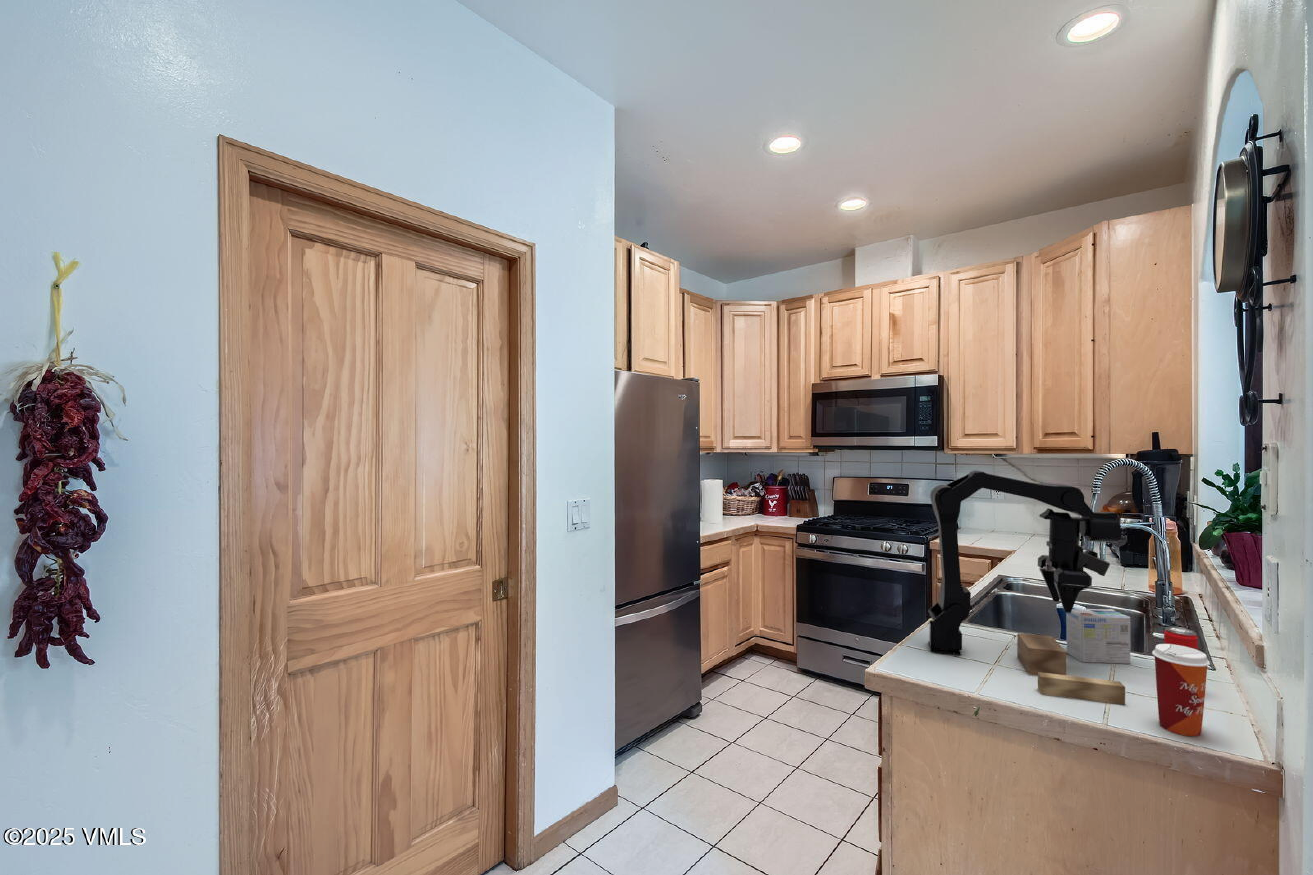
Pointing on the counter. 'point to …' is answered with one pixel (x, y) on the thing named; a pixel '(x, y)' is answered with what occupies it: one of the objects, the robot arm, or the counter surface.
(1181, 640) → the beverage can
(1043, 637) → the walnut block
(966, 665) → the counter surface
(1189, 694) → the paper cup
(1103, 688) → the oak board
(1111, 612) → the light bulb box
